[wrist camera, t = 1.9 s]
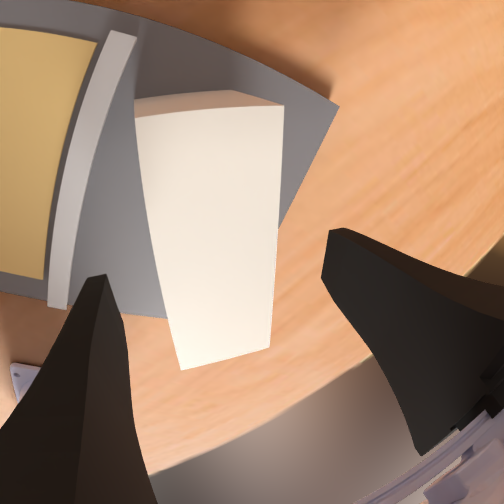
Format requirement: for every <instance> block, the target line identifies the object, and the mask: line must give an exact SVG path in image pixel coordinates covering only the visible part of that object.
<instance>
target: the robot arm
mask: <svg viewBox="0 0 504 504" xmlns="http://www.w3.org/2000/svg"><path fill="white" fill-rule="evenodd" d="M321 279H322V281H323V283H324V285H325V286H326V288H327V290H328V292H329V294H330V295H331V297H332V299H333V300H334V302H335V303H336V305H337V306H338V307H339V309H340V310H341V311H342V313H343V314H344V315H345V317H346V318H347V319H348V321H349V322H350V323H351V325H352V326H353V327H354V329H355V330H356V331H357V333H358V334H359V335H360V337H361V338H362V339H363V341H364V342H365V343H366V345H367V346H368V347H369V349H370V350H371V352H372V353H373V355H374V356H375V358H376V360H377V361H378V363H379V365H380V367H381V369H382V370H383V372H384V374H385V376H386V378H387V380H388V382H389V383H390V386H391V387H392V390H393V392H394V394H395V396H396V398H397V400H398V403H399V405H400V407H401V409H402V412H403V414H404V416H405V419H406V422H407V425H408V427H409V430H410V433H411V436H412V439H413V443H414V446H415V449H416V450H417V451H418V453H419V454H420V456H423V455H424V454H426V453H427V452H429V451H430V450H431V449H433V448H434V447H435V446H437V445H438V444H439V443H441V442H442V441H443V440H444V439H446V438H447V437H448V436H450V435H451V434H452V433H453V432H454V431H455V430H457V429H459V431H460V432H459V433H458V434H457V435H456V436H454V437H453V438H452V439H451V440H449V441H448V442H447V443H446V444H444V445H443V446H442V447H441V448H439V449H438V450H437V451H435V452H434V453H433V454H431V455H430V456H429V457H427V458H426V459H424V460H423V461H422V462H420V463H419V464H417V465H416V466H414V467H413V468H412V469H410V470H408V471H407V472H405V473H404V474H403V475H401V476H399V477H398V478H396V479H395V480H393V481H391V482H390V483H388V484H386V485H385V486H383V487H381V488H380V489H378V490H376V491H375V492H373V493H371V494H369V495H367V496H366V497H364V498H362V499H360V500H358V501H356V502H354V503H353V504H396V503H398V502H399V501H401V500H402V499H404V498H405V497H407V496H408V495H410V494H411V493H413V492H414V491H416V490H417V489H419V488H420V487H421V486H423V485H424V484H425V483H427V482H428V481H430V480H431V479H432V478H433V477H435V476H436V475H437V474H439V473H440V472H441V471H442V470H444V469H445V468H446V467H447V466H449V465H450V464H451V463H452V462H453V461H455V460H456V459H457V458H458V457H459V456H461V455H462V456H461V457H462V460H461V462H460V463H459V464H458V465H456V466H455V467H453V468H452V469H450V470H449V471H448V472H446V473H445V474H443V475H442V476H441V477H439V478H438V479H437V480H435V481H434V482H433V483H432V484H431V485H430V486H429V487H428V488H426V489H425V490H424V492H423V494H424V495H425V497H426V498H427V499H426V500H424V501H423V502H421V503H420V504H504V287H503V286H499V285H494V284H489V283H485V282H481V281H477V280H474V279H470V278H466V277H463V276H460V275H457V274H454V273H451V272H448V271H445V270H443V269H440V268H437V267H434V266H432V265H429V264H427V263H425V262H422V261H420V260H418V259H415V258H413V257H411V256H408V255H406V254H404V253H402V252H400V251H397V250H395V249H393V248H391V247H389V246H387V245H385V244H382V243H380V242H378V241H376V240H374V239H371V238H369V237H367V236H365V235H362V234H360V233H358V232H355V231H352V230H350V229H347V228H339V229H333V230H329V234H328V240H327V246H326V252H325V258H324V263H323V269H322V275H321ZM10 373H11V377H12V382H13V386H14V390H15V394H16V398H17V402H18V405H17V406H16V408H15V409H14V411H13V412H12V414H11V415H10V417H9V418H8V419H7V421H6V422H5V423H4V425H3V426H2V427H1V429H0V504H158V503H157V501H156V498H155V495H154V492H153V489H152V486H151V483H150V480H149V477H148V474H147V471H146V467H145V464H144V461H143V457H142V454H141V450H140V446H139V442H138V438H137V434H136V429H135V424H134V418H133V410H132V400H131V388H130V375H129V361H128V349H127V343H126V336H125V330H124V324H123V320H122V318H121V315H120V312H119V309H118V307H117V304H116V301H115V298H114V295H113V292H112V289H111V286H110V283H109V280H108V277H107V274H102V275H97V276H92V277H87V279H86V281H85V282H84V284H83V286H82V288H81V290H80V292H79V295H78V297H77V299H76V301H75V303H74V305H73V307H72V309H71V311H70V313H69V315H68V317H67V319H66V321H65V323H64V325H63V327H62V329H61V331H60V333H59V335H58V337H57V339H56V341H55V343H54V345H53V347H52V349H51V350H50V352H49V354H48V356H47V358H46V360H45V362H44V363H43V365H42V367H36V366H30V365H25V364H20V363H11V364H10Z"/></svg>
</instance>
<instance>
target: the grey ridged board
mask: <svg viewBox="0 0 504 504" xmlns="http://www.w3.org/2000/svg"><path fill="white" fill-rule="evenodd" d="M218 90H234V91H237V92H241V93H245V94H248V95H252V96H255V97H259V98H262V99H265V100H268V101H272V102H275V103H278V104H281V105H284V125H283V147H282V168H281V187H280V204H279V221H278V229H279V227H280V225H281V223H282V221H283V219H284V217H285V215H286V213H287V211H288V209H289V207H290V205H291V203H292V201H293V199H294V197H295V195H296V193H297V191H298V189H299V187H300V185H301V183H302V181H303V179H304V177H305V175H306V173H307V171H308V169H309V167H310V165H311V163H312V161H313V159H314V157H315V155H316V153H317V151H318V149H319V147H320V145H321V143H322V141H323V139H324V137H325V135H326V133H327V131H328V129H329V127H330V125H331V123H332V121H333V119H334V117H335V115H336V113H337V111H338V109H339V107H340V106H338V105H336V104H335V103H333V102H331V101H330V100H328V99H326V98H325V97H323V96H321V95H320V94H318V93H316V92H315V91H313V90H311V89H309V88H308V87H306V86H304V85H302V84H300V83H299V82H297V81H295V80H293V79H291V78H289V77H287V76H286V75H284V74H282V73H280V72H278V71H276V70H274V69H272V68H270V67H268V66H266V65H264V64H262V63H260V62H258V61H256V60H253V59H251V58H249V57H247V56H245V55H243V54H240V53H238V52H236V51H234V50H231V49H229V48H227V47H224V46H222V45H220V44H217V43H215V42H212V41H210V40H207V39H205V38H202V37H200V36H197V35H194V34H192V33H189V32H186V31H183V30H181V29H178V28H175V27H172V26H169V25H166V24H163V23H160V22H157V21H153V20H150V19H147V18H143V17H140V16H136V15H133V14H129V13H125V12H122V11H118V10H114V9H109V8H105V7H101V6H96V5H91V4H86V3H81V2H76V1H70V0H0V291H1V292H6V293H10V294H15V295H20V296H25V297H29V298H35V299H40V300H45V301H47V307H52V308H58V309H63V310H67V305H74V303H75V301H76V299H77V297H78V295H79V292H80V290H81V288H82V286H83V284H84V282H85V281H86V279H87V277H92V276H97V275H102V274H107V277H108V280H109V283H110V286H111V289H112V292H113V295H114V298H115V301H116V304H117V307H118V309H119V312H120V313H125V314H133V315H140V316H148V317H157V318H165V319H168V317H167V313H166V309H165V305H164V300H163V296H162V291H161V287H160V282H159V277H158V272H157V267H156V262H155V257H154V252H153V247H152V241H151V236H150V230H149V224H148V218H147V212H146V206H145V199H144V193H143V186H142V179H141V171H140V163H139V155H138V146H137V137H136V127H135V116H134V99H141V98H148V97H155V96H163V95H171V94H181V93H191V92H203V91H218Z"/></svg>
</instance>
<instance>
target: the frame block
mask: <svg viewBox="0 0 504 504" xmlns="http://www.w3.org/2000/svg"><path fill="white" fill-rule="evenodd" d="M134 116H135V127H136V137H137V146H138V155H139V163H140V171H141V179H142V186H143V193H144V199H145V206H146V212H147V218H148V224H149V230H150V236H151V241H152V247H153V252H154V257H155V262H156V267H157V272H158V277H159V282H160V287H161V291H162V296H163V300H164V305H165V309H166V313H167V317H168V322H169V326H170V330H171V334H172V338H173V342H174V346H175V349H176V353H177V357H178V361H179V364H180V368H181V370H185V369H189V368H193V367H198V366H202V365H206V364H210V363H214V362H218V361H222V360H226V359H229V358H233V357H237V356H241V355H244V354H248V353H251V352H255V351H259V350H262V349H265V348H269V346H270V334H271V321H272V308H273V295H274V281H275V267H276V252H277V237H278V221H279V204H280V187H281V168H282V147H283V125H284V105H281V104H278V103H275V102H272V101H268V100H265V99H262V98H259V97H255V96H252V95H248V94H245V93H241V92H237V91H234V90H218V91H203V92H191V93H181V94H171V95H163V96H155V97H148V98H141V99H134Z"/></svg>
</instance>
